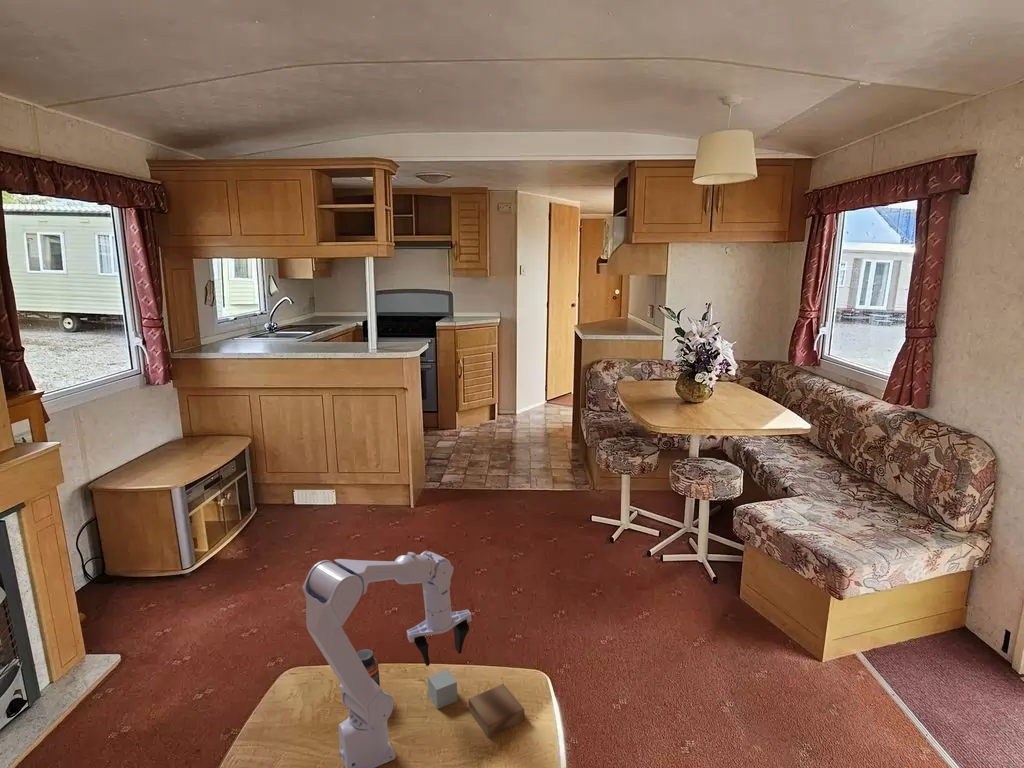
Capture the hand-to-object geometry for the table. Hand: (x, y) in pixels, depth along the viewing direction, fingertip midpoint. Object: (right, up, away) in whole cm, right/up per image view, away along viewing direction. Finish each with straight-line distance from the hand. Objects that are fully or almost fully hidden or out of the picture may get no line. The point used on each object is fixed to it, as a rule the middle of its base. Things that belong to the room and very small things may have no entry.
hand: (442, 656), depth 133 cm
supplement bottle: (-18, -11, +3) cm, 21 cm away
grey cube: (0, -11, +2) cm, 11 cm away
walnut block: (+12, -12, -3) cm, 17 cm away
